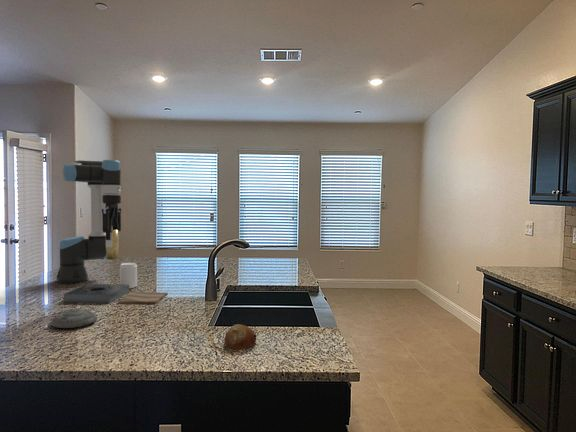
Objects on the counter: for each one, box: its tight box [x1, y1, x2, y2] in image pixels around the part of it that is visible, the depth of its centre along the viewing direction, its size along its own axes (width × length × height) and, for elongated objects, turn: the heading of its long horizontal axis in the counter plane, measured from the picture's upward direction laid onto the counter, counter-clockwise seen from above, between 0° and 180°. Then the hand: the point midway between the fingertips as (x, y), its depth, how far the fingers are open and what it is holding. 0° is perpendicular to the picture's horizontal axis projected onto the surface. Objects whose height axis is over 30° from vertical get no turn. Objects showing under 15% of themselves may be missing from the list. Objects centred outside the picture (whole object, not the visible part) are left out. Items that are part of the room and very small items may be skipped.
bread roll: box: [223, 323, 258, 350], centre depth 127 cm, size 10×10×8 cm
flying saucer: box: [50, 308, 98, 329], centre depth 144 cm, size 15×15×6 cm
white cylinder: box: [119, 262, 138, 290], centre depth 199 cm, size 8×8×12 cm
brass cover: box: [105, 229, 119, 260], centre depth 178 cm, size 5×5×13 cm
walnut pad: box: [118, 291, 169, 305], centre depth 178 cm, size 16×16×1 cm
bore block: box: [62, 283, 130, 304], centre depth 181 cm, size 20×20×4 cm
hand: (112, 246), depth 178 cm, fingers closed on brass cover, 5 cm apart
